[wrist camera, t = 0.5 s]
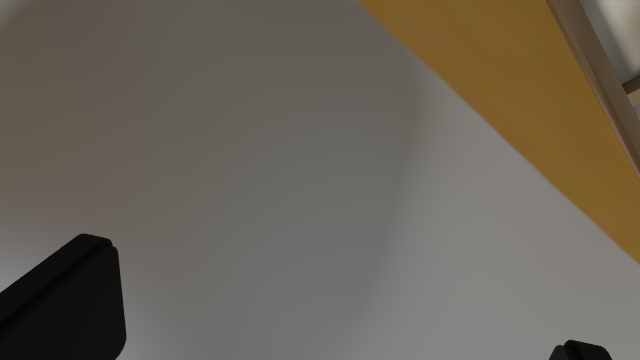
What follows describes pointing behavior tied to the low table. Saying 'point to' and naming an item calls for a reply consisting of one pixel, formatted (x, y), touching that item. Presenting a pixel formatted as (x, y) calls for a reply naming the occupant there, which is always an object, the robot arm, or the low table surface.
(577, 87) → the low table surface
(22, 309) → the robot arm
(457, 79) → the low table surface
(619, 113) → the two-compartment wooden shelf
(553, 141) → the low table surface
